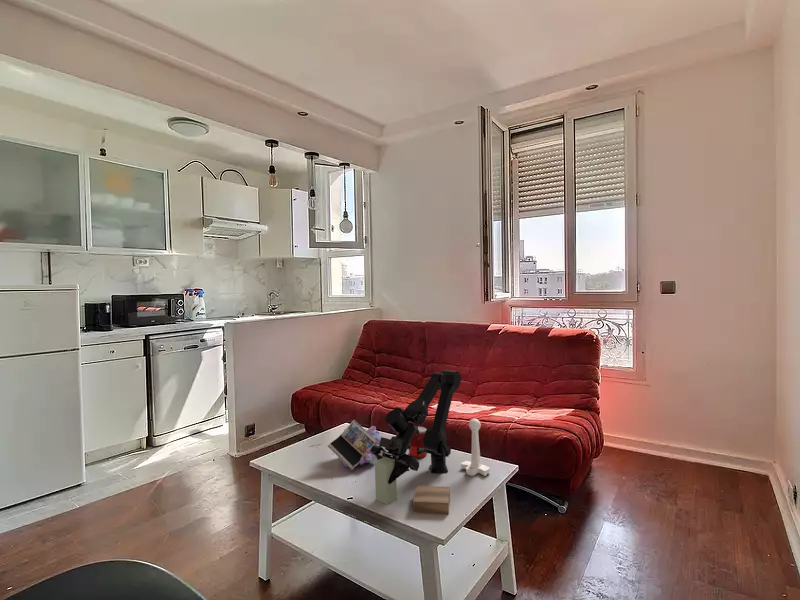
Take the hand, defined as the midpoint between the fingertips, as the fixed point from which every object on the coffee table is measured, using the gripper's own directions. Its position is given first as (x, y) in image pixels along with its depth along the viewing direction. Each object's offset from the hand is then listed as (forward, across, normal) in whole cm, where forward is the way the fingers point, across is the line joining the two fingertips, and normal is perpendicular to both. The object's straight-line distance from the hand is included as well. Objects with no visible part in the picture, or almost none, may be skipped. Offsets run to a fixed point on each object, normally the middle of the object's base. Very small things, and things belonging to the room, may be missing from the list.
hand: (382, 481), depth 142 cm
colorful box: (-8, -31, +18) cm, 36 cm away
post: (+4, 0, +6) cm, 7 cm away
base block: (-1, +14, +10) cm, 18 cm away
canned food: (-22, -16, +31) cm, 41 cm away
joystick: (-21, +12, +31) cm, 40 cm away
